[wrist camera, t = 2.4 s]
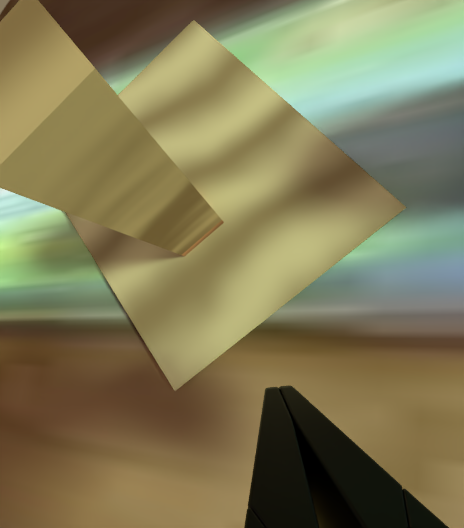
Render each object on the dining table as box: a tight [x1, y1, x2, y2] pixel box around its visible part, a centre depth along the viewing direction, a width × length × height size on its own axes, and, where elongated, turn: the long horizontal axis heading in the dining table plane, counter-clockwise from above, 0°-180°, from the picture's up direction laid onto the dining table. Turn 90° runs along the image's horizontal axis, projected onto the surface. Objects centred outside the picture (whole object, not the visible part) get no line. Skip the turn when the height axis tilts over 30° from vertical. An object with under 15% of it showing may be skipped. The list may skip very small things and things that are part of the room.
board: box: [65, 20, 406, 391], centre depth 18 cm, size 24×20×1 cm
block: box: [0, 0, 224, 256], centre depth 12 cm, size 4×4×12 cm
